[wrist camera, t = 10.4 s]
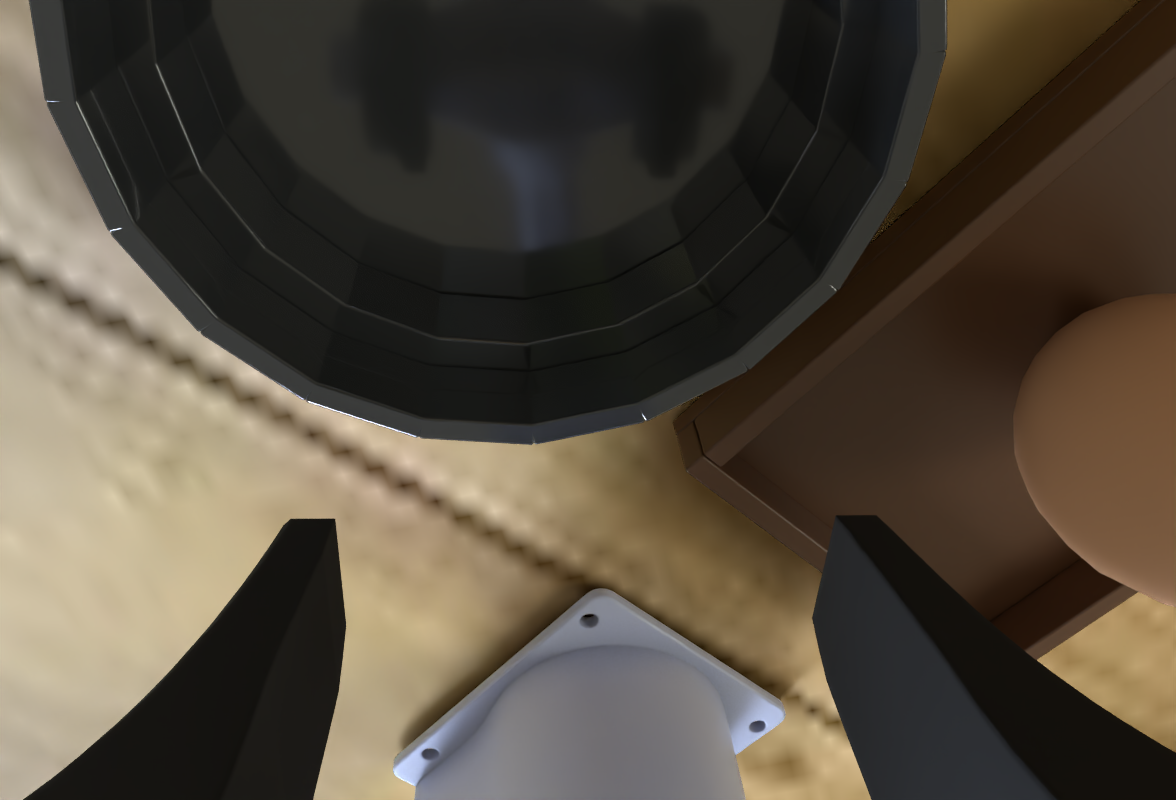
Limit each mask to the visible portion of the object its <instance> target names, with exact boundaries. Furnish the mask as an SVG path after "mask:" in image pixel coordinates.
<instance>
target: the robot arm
mask: <svg viewBox="0 0 1176 800" xmlns="http://www.w3.org/2000/svg"><path fill="white" fill-rule="evenodd" d="M586 614H593V615H594V616H592V617H588V618H585V617H582V616H584V615H586ZM812 619H813V624H814V628H815V633H816V638H817V642H818V647H819V651H820V655H821V659H822V663H823V667H824V671H825V676H826V680H827V683H828V685H829V688H830V691H831V694H832V697H833V699H834V702H835V705H836V707H837V710H838V713H839V715H840V718H841V721H842V723H843V726H844V729H845V731H846V734H847V737H848V739H849V742H850V744H851V747H852V750H853V752H854V755H855V757H856V760H857V763H858V765H859V768H860V770H861V773H862V776H863V778H864V781H865V784H866V786H867V789H868V791H869V794H870V797H871V799H872V800H1176V753H1175V752H1173V751H1172V750H1170V749H1168V748H1166V747H1165V746H1163V745H1161V744H1160V743H1158V742H1156V741H1155V740H1153V739H1151V738H1150V737H1148V736H1147V735H1145V734H1143V733H1142V732H1140V731H1138V730H1137V729H1135V728H1133V727H1132V726H1130V725H1129V724H1127V723H1125V722H1124V721H1122V720H1120V719H1119V718H1117V717H1116V716H1114V715H1113V714H1111V713H1110V712H1108V711H1107V710H1105V709H1104V708H1102V707H1101V706H1099V705H1097V704H1096V703H1095V702H1093V701H1092V700H1090V699H1089V698H1087V697H1086V696H1085V695H1083V694H1082V693H1080V692H1079V691H1078V690H1076V689H1075V688H1073V687H1072V686H1071V685H1069V684H1068V683H1066V682H1065V681H1064V680H1062V679H1061V678H1059V677H1058V676H1057V675H1055V674H1054V673H1052V672H1051V671H1050V670H1048V669H1047V668H1046V667H1045V666H1043V665H1042V664H1041V663H1039V662H1038V661H1037V660H1035V659H1034V658H1033V657H1032V656H1030V655H1029V654H1028V653H1027V652H1026V651H1024V650H1023V649H1022V648H1021V647H1019V646H1018V645H1017V644H1016V643H1015V642H1013V641H1012V640H1011V639H1010V638H1009V637H1007V636H1006V635H1005V634H1004V633H1002V632H1001V631H1000V630H999V629H998V628H996V627H995V626H994V625H993V624H992V623H991V622H990V621H988V620H987V619H986V618H985V617H984V616H983V615H982V614H980V613H979V612H978V611H977V610H976V609H975V608H974V607H973V606H972V605H970V604H969V603H968V602H967V601H966V600H965V599H964V598H963V597H962V596H961V595H960V594H958V593H957V592H956V591H955V590H954V589H953V588H952V587H951V586H950V585H949V584H948V583H947V582H946V581H945V580H943V579H942V578H941V577H940V576H939V575H938V574H937V573H936V572H935V571H934V570H933V569H932V568H931V567H930V566H929V565H928V564H927V563H926V562H925V561H924V560H923V559H922V558H921V557H920V556H919V555H917V554H916V553H915V552H914V551H913V550H912V549H911V548H910V547H909V546H908V545H907V544H906V543H905V542H904V541H903V540H902V539H901V538H900V537H899V536H898V535H897V534H896V533H895V532H894V531H893V530H892V529H891V528H890V527H889V526H888V525H887V524H885V523H884V522H883V521H882V520H881V519H880V518H879V517H878V516H877V515H836V516H835V521H834V525H833V529H832V534H831V538H830V542H829V547H828V551H827V556H826V560H825V564H824V569H823V573H822V577H821V582H820V586H819V591H818V595H817V599H816V604H815V608H814V612H813V617H812ZM345 631H346V619H345V609H344V600H343V590H342V581H341V571H340V561H339V552H338V542H337V533H336V523H335V519H290V520H289V521H288V522H287V523H286V524H285V525H283V527H282V528H281V530H280V532H279V533H278V535H277V536H276V538H275V539H274V541H273V542H272V544H271V545H270V547H269V548H268V550H267V551H266V552H265V554H264V555H263V557H262V558H261V560H260V561H259V562H258V564H257V565H256V567H255V568H254V569H253V571H252V572H251V574H250V575H249V576H248V578H247V579H246V580H245V582H244V583H243V584H242V586H241V587H240V588H239V590H238V591H237V592H236V593H235V595H234V596H233V597H232V599H231V600H230V601H229V602H228V604H227V605H226V606H225V607H224V609H223V610H222V611H221V613H220V614H219V615H218V616H217V618H216V619H215V620H214V621H213V623H212V624H211V625H210V626H209V627H208V629H207V630H206V631H205V632H204V633H203V634H202V636H201V637H200V638H199V639H198V640H197V641H196V642H195V644H194V645H193V646H192V647H191V648H190V649H189V650H188V651H187V653H186V654H185V655H184V656H183V657H182V658H181V659H180V661H179V662H178V663H177V664H176V665H175V666H174V667H173V668H172V669H171V671H170V672H169V673H168V674H167V675H166V676H165V677H164V678H163V679H162V680H161V681H160V682H159V683H158V684H157V685H156V686H155V687H154V688H153V689H152V690H151V691H150V692H149V693H148V694H147V695H146V696H145V697H144V698H143V699H142V700H141V701H140V702H139V703H138V704H137V705H136V706H135V707H134V708H133V709H132V710H131V711H130V712H129V713H128V714H127V715H126V716H124V717H123V718H122V719H121V720H120V721H119V722H118V723H117V724H116V725H115V726H114V727H112V728H111V729H110V730H109V731H108V732H107V733H106V734H104V735H103V736H102V737H101V738H100V739H99V740H97V741H96V742H95V743H94V744H93V745H92V746H91V747H89V748H88V749H87V750H86V751H85V752H84V753H83V754H81V755H80V756H79V757H78V758H77V759H75V760H74V761H73V762H72V763H71V764H69V765H68V766H67V767H66V768H64V769H63V770H62V771H61V772H59V773H58V774H57V775H56V776H54V777H53V778H52V779H51V780H49V781H48V782H46V783H45V784H44V785H42V786H41V787H40V788H38V789H37V790H36V791H34V792H33V793H32V794H30V795H29V796H27V797H26V798H25V799H23V800H313V797H314V793H315V789H316V785H317V780H318V776H319V772H320V768H321V764H322V760H323V755H324V751H325V747H326V743H327V739H328V735H329V730H330V726H331V722H332V718H333V713H334V709H335V705H336V700H337V696H338V692H339V684H340V676H341V667H342V659H343V650H344V641H345ZM785 715H786V714H785V710H784V706H783V703H782V702H781V701H780V700H779V699H778V698H776V697H775V696H773V695H772V694H770V693H769V692H767V691H766V690H764V689H762V688H761V687H759V686H758V685H756V684H755V683H753V682H752V681H750V680H749V679H747V678H746V677H744V676H742V675H741V674H739V673H738V672H736V671H735V670H733V669H732V668H730V667H729V666H727V665H726V664H724V663H722V662H721V661H719V660H718V659H716V658H715V657H713V656H712V655H710V654H709V653H707V652H706V651H704V650H702V649H701V648H699V647H698V646H696V645H695V644H693V643H692V642H690V641H689V640H687V639H686V638H684V637H682V636H681V635H679V634H678V633H676V632H675V631H673V630H672V629H670V628H669V627H667V626H666V625H664V624H662V623H661V622H659V621H658V620H656V619H655V618H653V617H652V616H650V615H649V614H647V613H646V612H644V611H643V610H641V609H639V608H638V607H636V606H635V605H633V604H632V603H630V602H629V601H627V600H626V599H624V598H623V597H621V596H619V595H618V594H616V593H615V592H613V591H611V590H609V589H604V588H598V589H594V590H592V591H590V592H588V593H587V594H586V595H584V596H583V597H582V598H581V599H580V600H579V601H577V602H576V603H575V604H574V605H573V606H571V607H570V608H569V609H568V610H567V611H566V612H564V613H563V614H562V615H561V616H560V617H559V618H557V619H556V620H555V621H554V622H553V623H552V624H550V625H549V626H548V627H547V628H546V629H544V630H543V631H542V632H541V633H540V634H539V635H537V636H536V637H535V638H534V639H533V640H532V641H530V642H529V643H528V644H527V645H526V646H525V647H523V648H522V649H521V650H520V651H519V652H517V653H516V654H515V655H514V656H513V657H512V658H510V659H509V660H508V661H507V662H506V663H505V664H503V665H502V666H501V667H500V668H499V669H498V670H496V671H495V672H494V673H493V674H492V675H491V676H489V677H488V678H487V679H486V680H485V681H483V682H482V683H481V684H480V685H479V686H478V687H476V688H475V689H474V690H473V691H472V692H471V693H469V694H468V695H467V696H466V697H465V698H464V699H462V700H461V701H460V702H459V703H458V704H456V705H455V706H454V707H453V708H452V709H451V710H449V711H448V712H447V713H446V714H445V715H444V716H442V717H441V718H440V719H439V720H438V721H437V722H435V723H434V724H433V725H432V726H431V727H429V728H428V729H427V730H426V731H425V732H424V733H422V734H421V735H420V736H419V737H418V738H417V739H415V740H414V741H413V742H412V743H411V744H410V745H408V746H407V747H406V748H405V749H404V750H402V751H401V752H400V753H399V754H398V755H397V756H396V757H395V759H394V767H393V772H394V774H395V775H396V776H397V777H398V778H400V779H402V780H404V781H406V782H408V783H410V784H412V785H414V786H416V788H415V800H746V798H745V794H744V789H743V785H742V781H741V777H740V772H739V768H738V764H737V759H736V754H738V753H739V752H741V751H742V750H743V749H745V748H746V747H748V746H749V745H750V744H752V743H753V742H755V741H756V740H757V739H759V738H760V737H762V736H763V735H764V734H766V733H767V732H769V731H770V730H771V729H773V728H774V727H776V726H777V725H778V724H780V723H781V722H782V721H783V720H784V718H785ZM754 721H755V722H754ZM428 748H433V749H428Z"/></svg>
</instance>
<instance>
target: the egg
mask: <svg viewBox="0 0 1176 800" xmlns="http://www.w3.org/2000/svg"><path fill="white" fill-rule="evenodd" d="M1013 430H1014V453H1015V457H1016V461H1017V464H1018V468H1019V470H1020V473H1021V475H1022V478H1023V480H1024V483H1025V485H1026V488H1027V490H1028V492H1029V494H1030V496H1031V498H1032V500H1033V502H1034V504H1035V505H1036V507H1037V509H1038V511H1039V512H1040V513H1041V515H1042V516H1043V517H1044V518H1045V519H1046V520H1047V522H1048V523H1049V524H1050V525H1051V526H1052V528H1053V529H1054V530H1055V531H1056V532H1057V534H1058V535H1059V536H1060V537H1061V538H1062V540H1063V541H1064V542H1065V543H1066V544H1067V545H1068V546H1069V547H1070V548H1071V549H1072V550H1073V551H1074V552H1076V553H1077V554H1078V555H1079V556H1080V557H1081V558H1083V559H1084V560H1085V561H1086V562H1087V563H1088V564H1090V565H1091V566H1092V567H1093V568H1094V569H1096V570H1097V571H1098V572H1099V573H1101V574H1103V575H1105V576H1107V577H1110V578H1112V579H1114V580H1116V581H1118V582H1120V583H1122V584H1124V585H1126V586H1128V587H1130V588H1132V589H1134V590H1136V591H1138V592H1140V593H1142V594H1144V595H1146V596H1148V597H1150V598H1152V599H1155V600H1157V601H1159V602H1161V603H1163V604H1166V605H1170V606H1174V607H1176V293H1174V294H1148V295H1141V296H1134V297H1127V298H1123V299H1119V300H1116V301H1113V302H1111V303H1108V304H1105V305H1103V306H1100V307H1097V308H1095V309H1092V310H1089V311H1087V312H1084V313H1082V314H1081V315H1080V316H1078V317H1077V318H1075V319H1074V320H1073V321H1071V322H1070V323H1068V324H1067V325H1065V326H1064V327H1063V328H1061V329H1060V330H1058V331H1057V332H1056V333H1055V334H1054V335H1053V336H1052V337H1051V338H1050V340H1049V341H1048V342H1047V343H1046V344H1045V345H1044V346H1043V347H1042V349H1041V350H1040V351H1039V352H1038V353H1037V354H1036V355H1035V357H1034V359H1033V361H1032V362H1031V364H1030V366H1029V368H1028V370H1027V372H1026V374H1025V375H1024V377H1023V379H1022V382H1021V386H1020V390H1019V394H1018V398H1017V402H1016V406H1015V410H1014V414H1013Z"/></svg>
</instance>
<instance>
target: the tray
mask: <svg viewBox="0 0 1176 800" xmlns="http://www.w3.org/2000/svg"><path fill="white" fill-rule="evenodd" d="M1174 293H1176V0H1141V1H1140V2H1139V3H1138V4H1137V5H1136V6H1135V7H1133V8H1132V9H1131V10H1130V11H1129V12H1128V13H1127V14H1126V15H1125V16H1123V17H1122V18H1121V19H1120V20H1119V21H1118V22H1117V23H1116V24H1114V25H1113V26H1112V27H1111V28H1110V29H1109V30H1108V31H1107V32H1106V33H1104V34H1103V35H1102V36H1101V37H1100V38H1099V39H1098V40H1097V41H1096V42H1094V43H1093V44H1092V45H1091V46H1090V47H1089V48H1088V49H1087V50H1086V51H1084V52H1083V53H1082V54H1081V55H1080V56H1079V57H1078V58H1077V59H1076V60H1074V61H1073V62H1072V63H1071V64H1070V65H1069V66H1068V67H1067V68H1066V69H1064V70H1063V71H1062V72H1061V73H1060V74H1059V75H1058V76H1057V77H1056V78H1054V79H1053V80H1052V81H1051V82H1050V83H1049V84H1048V85H1047V86H1046V87H1044V88H1043V89H1042V90H1041V91H1040V92H1039V93H1038V94H1037V95H1036V96H1034V97H1033V98H1032V99H1031V100H1030V101H1029V102H1028V103H1027V104H1026V105H1024V106H1023V107H1022V108H1021V109H1020V110H1019V111H1018V112H1017V113H1016V114H1014V115H1013V116H1012V117H1011V118H1010V119H1009V120H1008V121H1007V122H1006V123H1004V124H1003V125H1002V126H1001V127H1000V128H999V129H998V130H997V131H996V132H994V133H993V134H992V135H991V136H990V137H989V138H988V139H987V140H986V141H984V142H983V143H982V144H981V145H980V146H979V147H978V148H977V149H976V150H974V151H973V152H972V153H971V154H970V155H969V156H968V157H967V158H966V159H964V160H963V161H962V162H961V163H960V164H959V165H958V166H957V167H956V168H954V169H953V170H952V171H951V172H950V173H949V174H948V175H947V176H946V177H944V178H943V179H942V180H941V181H940V182H939V183H938V184H937V185H936V186H934V187H933V188H932V189H931V190H930V191H929V192H928V193H927V194H926V195H924V196H923V197H922V198H921V199H920V200H919V201H918V202H917V203H916V204H914V205H913V206H912V207H911V208H910V209H909V210H908V211H907V212H906V213H904V214H903V215H902V216H901V217H900V218H899V219H898V220H897V221H896V222H894V223H893V224H892V225H891V226H890V227H889V228H888V229H887V230H886V231H884V232H883V233H882V234H881V235H880V236H879V237H878V238H877V239H876V240H874V241H873V242H872V243H871V244H870V245H869V246H868V247H867V248H866V249H865V251H864V252H863V254H862V255H861V257H860V259H859V260H858V262H857V263H856V265H855V266H854V268H853V270H852V271H851V273H850V274H849V276H848V277H847V279H846V280H845V282H844V284H843V285H842V287H841V288H840V289H837V292H836V293H835V294H834V295H833V296H832V297H831V298H830V299H829V300H828V301H827V302H825V303H824V304H823V305H822V306H821V307H820V308H819V309H818V310H816V311H815V312H814V313H813V314H812V315H811V316H810V317H809V318H807V319H806V320H805V321H804V322H803V323H802V324H801V325H800V326H798V327H797V328H796V329H795V330H794V331H793V332H792V333H791V334H790V335H788V336H787V337H786V338H785V339H784V340H783V341H782V342H781V343H779V344H778V345H777V346H776V347H775V348H774V349H773V350H772V351H770V352H769V353H768V354H767V355H766V356H765V357H764V358H763V359H761V360H760V361H759V362H758V363H757V364H756V365H755V366H754V367H753V368H751V369H748V371H747V372H745V373H743V374H741V375H739V376H737V377H735V378H733V379H731V380H729V381H727V382H725V383H723V384H721V385H719V386H717V387H715V388H713V389H711V390H709V391H707V392H706V393H704V394H703V395H702V396H701V397H700V398H699V399H698V400H697V401H696V402H694V403H693V404H692V405H691V406H690V407H689V408H688V409H687V410H686V411H684V412H683V413H682V414H681V415H680V416H679V417H678V418H677V419H676V420H674V422H673V425H674V429H675V433H676V435H677V439H678V443H679V447H680V451H681V455H682V459H683V462H684V466H685V470H686V472H688V473H689V474H690V475H692V476H693V477H694V478H696V479H697V480H698V481H700V482H701V483H702V484H704V485H705V486H706V487H708V488H709V489H710V490H712V491H713V492H714V493H716V494H717V495H718V496H720V497H721V498H722V499H724V500H725V501H726V502H728V503H729V504H730V505H732V506H733V507H734V508H736V509H737V510H738V511H740V512H741V513H742V514H744V515H745V516H746V517H748V518H749V519H750V520H752V521H753V522H755V523H756V524H757V525H759V526H760V527H761V528H763V529H764V530H765V531H767V532H768V533H769V534H771V535H772V536H773V537H775V538H776V539H777V540H779V541H780V542H781V543H783V544H784V545H785V546H787V547H788V548H789V549H791V550H792V551H793V552H795V553H796V554H797V555H799V556H800V557H801V558H803V559H804V560H805V561H807V562H808V563H809V564H811V565H812V566H813V567H815V568H816V569H817V570H819V571H820V572H821V573H823V569H824V564H825V560H826V556H827V551H828V547H829V542H830V538H831V534H832V529H833V525H834V521H835V516H836V515H877V516H878V517H879V518H880V519H881V520H882V521H883V522H884V523H885V524H887V525H888V526H889V527H890V528H891V529H892V530H893V531H894V532H895V533H896V534H897V535H898V536H899V537H900V538H901V539H902V540H903V541H904V542H905V543H906V544H907V545H908V546H909V547H910V548H911V549H912V550H913V551H914V552H915V553H916V554H917V555H919V556H920V557H921V558H922V559H923V560H924V561H925V562H926V563H927V564H928V565H929V566H930V567H931V568H932V569H933V570H934V571H935V572H936V573H937V574H938V575H939V576H940V577H941V578H942V579H943V580H945V581H946V582H947V583H948V584H949V585H950V586H951V587H952V588H953V589H954V590H955V591H956V592H957V593H958V594H960V595H961V596H962V597H963V598H964V599H965V600H966V601H967V602H968V603H969V604H970V605H972V606H973V607H974V608H975V609H976V610H977V611H978V612H979V613H980V614H982V615H983V616H984V617H985V618H986V619H987V620H988V621H990V622H991V623H992V624H993V625H994V626H995V627H996V628H998V629H999V630H1000V631H1001V632H1002V633H1004V634H1005V635H1006V636H1007V637H1009V638H1010V639H1011V640H1012V641H1013V642H1015V643H1016V644H1017V645H1018V646H1019V647H1021V648H1022V649H1023V650H1024V651H1026V652H1027V653H1028V654H1029V655H1030V656H1032V657H1033V658H1034V659H1035V660H1037V659H1038V658H1040V657H1041V656H1043V655H1044V654H1046V653H1047V652H1049V651H1050V650H1052V649H1053V648H1055V647H1056V646H1058V645H1059V644H1061V643H1062V642H1064V641H1065V640H1067V639H1068V638H1070V637H1071V636H1073V635H1074V634H1076V633H1077V632H1079V631H1080V630H1082V629H1083V628H1085V627H1086V626H1088V625H1089V624H1091V623H1092V622H1094V621H1095V620H1097V619H1098V618H1100V617H1101V616H1103V615H1104V614H1106V613H1107V612H1109V611H1110V610H1112V609H1113V608H1115V607H1116V606H1118V605H1119V604H1121V603H1122V602H1124V601H1125V600H1127V599H1128V598H1130V597H1131V596H1133V595H1134V594H1136V593H1137V592H1138V591H1136V590H1134V589H1132V588H1130V587H1128V586H1126V585H1124V584H1122V583H1120V582H1118V581H1116V580H1114V579H1112V578H1110V577H1107V576H1105V575H1103V574H1101V573H1099V572H1098V571H1097V570H1096V569H1094V568H1093V567H1092V566H1091V565H1090V564H1088V563H1087V562H1086V561H1085V560H1084V559H1083V558H1081V557H1080V556H1079V555H1078V554H1077V553H1076V552H1074V551H1073V550H1072V549H1071V548H1070V547H1069V546H1068V545H1067V544H1066V543H1065V542H1064V541H1063V540H1062V538H1061V537H1060V536H1059V535H1058V534H1057V532H1056V531H1055V530H1054V529H1053V528H1052V526H1051V525H1050V524H1049V523H1048V522H1047V520H1046V519H1045V518H1044V517H1043V516H1042V515H1041V513H1040V512H1039V511H1038V509H1037V507H1036V505H1035V504H1034V502H1033V500H1032V498H1031V496H1030V494H1029V492H1028V490H1027V488H1026V485H1025V483H1024V480H1023V478H1022V475H1021V473H1020V470H1019V468H1018V464H1017V461H1016V457H1015V453H1014V430H1013V414H1014V410H1015V406H1016V402H1017V398H1018V394H1019V390H1020V386H1021V382H1022V379H1023V377H1024V375H1025V374H1026V372H1027V370H1028V368H1029V366H1030V364H1031V362H1032V361H1033V359H1034V357H1035V355H1036V354H1037V353H1038V352H1039V351H1040V350H1041V349H1042V347H1043V346H1044V345H1045V344H1046V343H1047V342H1048V341H1049V340H1050V338H1051V337H1052V336H1053V335H1054V334H1055V333H1056V332H1057V331H1058V330H1060V329H1061V328H1063V327H1064V326H1065V325H1067V324H1068V323H1070V322H1071V321H1073V320H1074V319H1075V318H1077V317H1078V316H1080V315H1081V314H1082V313H1084V312H1087V311H1089V310H1092V309H1095V308H1097V307H1100V306H1103V305H1105V304H1108V303H1111V302H1113V301H1116V300H1119V299H1123V298H1127V297H1134V296H1141V295H1148V294H1174Z"/></svg>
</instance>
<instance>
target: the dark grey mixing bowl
mask: <svg viewBox="0 0 1176 800" xmlns="http://www.w3.org/2000/svg"><path fill="white" fill-rule="evenodd" d="M29 4H30V10H31V17H32V23H33V29H34V35H35V42H36V48H37V54H38V60H39V67H40V73H41V79H42V85H43V92H44V98H45V101H47V107H48V109H49V111H50V113H51V115H52V117H53V119H54V121H55V123H56V125H57V127H58V129H59V131H60V133H61V135H62V137H63V139H64V141H65V143H66V145H67V147H68V149H69V151H70V154H71V156H72V158H73V160H74V162H75V164H76V166H77V168H78V170H79V172H80V174H81V176H82V178H83V180H84V182H85V184H86V186H87V188H88V190H89V192H90V194H91V196H92V199H93V201H94V203H95V205H96V207H97V209H98V211H99V213H100V215H101V217H102V219H103V221H104V223H105V225H106V227H107V229H108V230H109V231H111V235H112V236H113V238H114V239H115V240H116V241H117V242H118V243H119V244H120V245H121V246H122V248H123V249H124V250H125V251H126V252H127V253H128V254H129V255H130V256H131V258H132V259H133V260H134V261H135V262H136V263H137V264H138V265H139V266H140V268H141V269H142V270H143V271H144V272H145V273H146V274H147V275H148V277H149V278H150V279H151V280H152V281H153V282H154V283H155V284H156V285H157V287H158V288H159V289H160V290H161V291H162V292H163V293H164V294H165V295H166V297H167V298H168V299H169V300H170V301H171V302H172V303H173V304H174V305H175V307H176V308H177V309H178V310H179V311H180V312H181V313H182V314H183V315H184V317H185V318H186V319H187V320H188V321H189V322H190V323H191V324H192V325H193V327H194V328H195V329H196V330H197V331H199V332H200V331H201V334H202V335H203V336H205V337H206V338H208V339H209V340H211V341H212V342H214V343H216V344H217V345H219V346H220V347H222V348H223V349H225V350H226V351H228V352H229V353H231V354H233V355H234V356H236V357H237V358H239V359H240V360H242V361H243V362H245V363H246V364H248V365H250V366H251V367H253V368H254V369H256V370H257V371H259V372H260V373H262V374H264V375H265V376H267V377H268V378H270V379H271V380H273V381H274V382H276V383H277V384H279V385H281V386H282V387H284V388H285V389H287V390H288V391H290V392H291V393H293V394H295V395H296V396H298V397H299V398H301V399H302V400H306V401H307V402H308V403H312V404H315V405H318V406H321V407H324V408H327V409H330V410H333V411H336V412H339V413H342V414H345V415H348V416H352V417H355V418H358V419H361V420H364V421H367V422H370V423H373V424H376V425H379V426H382V427H385V428H389V429H392V430H395V431H398V432H401V433H404V434H407V435H410V436H413V437H420V438H423V439H440V440H458V441H475V442H493V443H510V444H528V445H532V444H533V443H535V444H540V443H545V442H550V441H555V440H560V439H565V438H570V437H575V436H580V435H585V434H590V433H594V432H599V431H604V430H609V429H614V428H619V427H624V426H629V425H634V424H639V423H643V422H644V421H645V420H646V421H649V420H651V419H653V418H655V417H657V416H659V415H661V414H663V413H665V412H667V411H669V410H671V409H673V408H675V407H677V406H679V405H681V404H683V403H685V402H687V401H689V400H691V399H693V398H695V397H697V396H699V395H701V394H703V393H705V392H707V391H709V390H711V389H713V388H715V387H717V386H719V385H721V384H723V383H725V382H727V381H729V380H731V379H733V378H735V377H737V376H739V375H741V374H743V373H745V372H747V371H748V369H751V368H753V367H754V366H755V365H756V364H757V363H758V362H759V361H760V360H761V359H763V358H764V357H765V356H766V355H767V354H768V353H769V352H770V351H772V350H773V349H774V348H775V347H776V346H777V345H778V344H779V343H781V342H782V341H783V340H784V339H785V338H786V337H787V336H788V335H790V334H791V333H792V332H793V331H794V330H795V329H796V328H797V327H798V326H800V325H801V324H802V323H803V322H804V321H805V320H806V319H807V318H809V317H810V316H811V315H812V314H813V313H814V312H815V311H816V310H818V309H819V308H820V307H821V306H822V305H823V304H824V303H825V302H827V301H828V300H829V299H830V298H831V297H832V296H833V295H834V294H835V293H836V292H837V289H840V288H841V287H842V285H843V284H844V282H845V280H846V279H847V277H848V276H849V274H850V273H851V271H852V270H853V268H854V266H855V265H856V263H857V262H858V260H859V259H860V257H861V255H862V254H863V252H864V251H865V249H866V248H867V246H868V245H869V243H870V241H871V240H872V238H873V237H874V235H875V234H876V232H877V231H878V229H879V227H880V226H881V224H882V223H883V221H884V220H885V218H886V217H887V215H888V213H889V212H890V210H891V209H892V207H893V206H894V204H895V202H896V201H897V199H898V198H899V196H900V195H901V193H902V192H903V190H904V188H905V187H906V185H907V183H906V182H908V180H909V177H910V174H911V170H912V167H913V164H914V160H915V157H916V154H917V150H918V147H919V144H920V140H921V137H922V134H923V130H924V127H925V124H926V120H927V117H928V113H929V110H930V107H931V103H932V100H933V97H934V93H935V90H936V87H937V83H938V80H939V77H940V73H941V70H942V66H943V63H944V60H945V56H946V51H945V50H947V0H29Z"/></svg>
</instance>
